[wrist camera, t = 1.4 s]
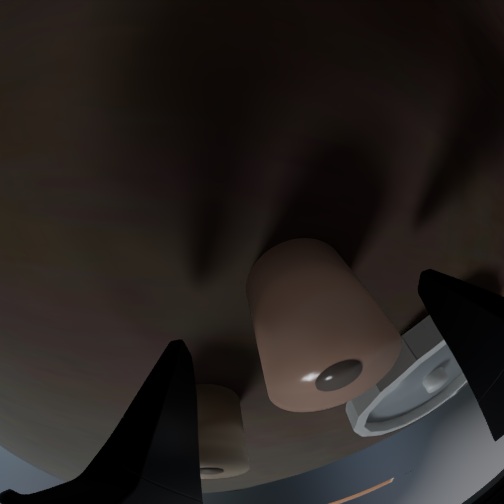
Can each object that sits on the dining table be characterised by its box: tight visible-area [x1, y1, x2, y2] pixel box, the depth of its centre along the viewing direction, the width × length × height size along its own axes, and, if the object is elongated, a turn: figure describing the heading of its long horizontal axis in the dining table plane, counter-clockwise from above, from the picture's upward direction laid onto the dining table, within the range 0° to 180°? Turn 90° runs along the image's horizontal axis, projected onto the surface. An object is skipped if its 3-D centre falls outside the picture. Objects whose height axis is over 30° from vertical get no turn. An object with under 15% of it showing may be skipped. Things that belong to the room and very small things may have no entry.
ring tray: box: [346, 315, 467, 437], centre depth 16 cm, size 14×14×2 cm
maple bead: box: [195, 384, 250, 479], centre depth 12 cm, size 4×4×4 cm
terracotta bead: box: [246, 238, 402, 412], centre depth 9 cm, size 4×4×5 cm
